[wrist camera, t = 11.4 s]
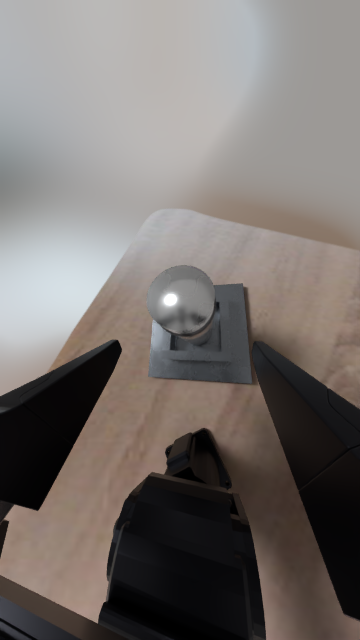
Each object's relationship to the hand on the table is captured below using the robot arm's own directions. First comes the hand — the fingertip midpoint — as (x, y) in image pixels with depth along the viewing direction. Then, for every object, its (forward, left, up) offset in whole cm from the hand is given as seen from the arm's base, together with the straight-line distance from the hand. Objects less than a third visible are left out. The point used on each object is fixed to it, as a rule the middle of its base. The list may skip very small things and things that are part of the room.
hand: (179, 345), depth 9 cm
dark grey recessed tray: (+3, -2, -14) cm, 14 cm away
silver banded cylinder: (+3, -2, -13) cm, 13 cm away
